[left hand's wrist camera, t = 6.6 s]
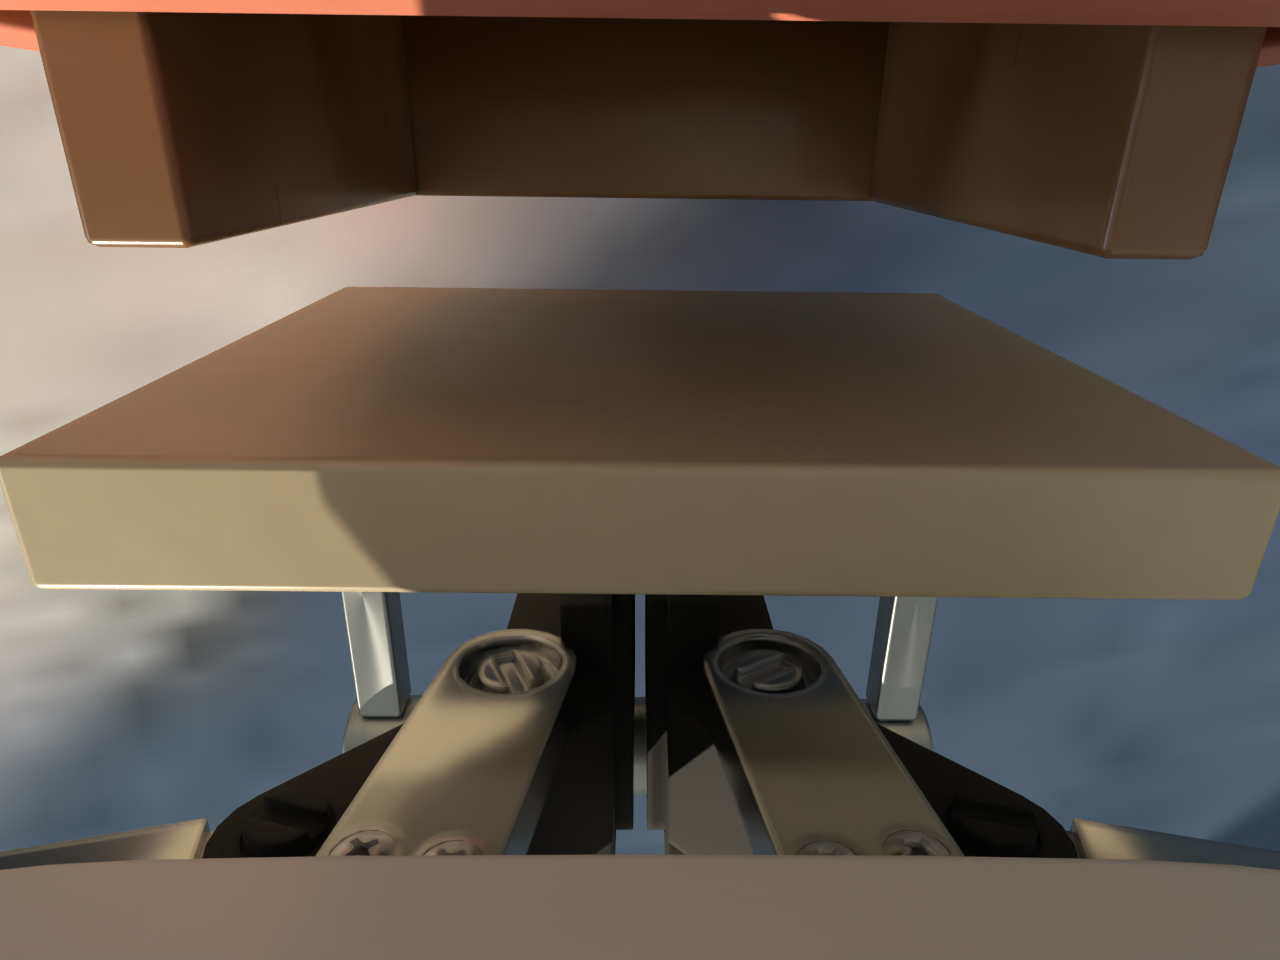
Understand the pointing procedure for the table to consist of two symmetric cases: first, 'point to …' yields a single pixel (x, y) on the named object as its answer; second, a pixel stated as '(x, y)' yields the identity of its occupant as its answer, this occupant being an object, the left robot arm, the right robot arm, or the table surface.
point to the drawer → (642, 325)
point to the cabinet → (716, 11)
